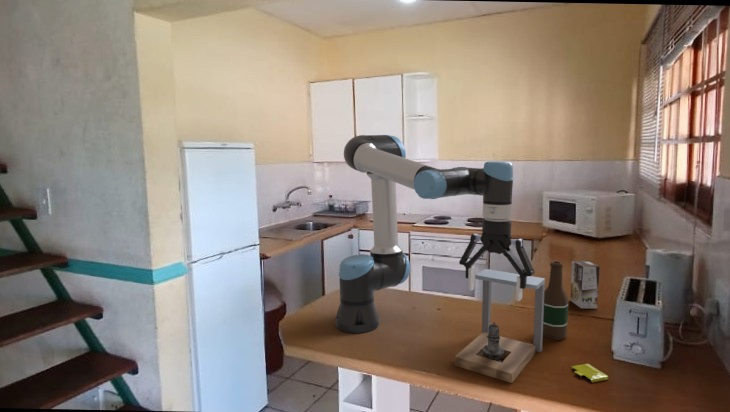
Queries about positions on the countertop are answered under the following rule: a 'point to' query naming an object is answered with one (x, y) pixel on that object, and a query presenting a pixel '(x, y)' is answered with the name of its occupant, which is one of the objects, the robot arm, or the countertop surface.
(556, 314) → the beer bottle
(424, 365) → the countertop surface
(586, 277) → the coffee box
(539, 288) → the grey arch frame
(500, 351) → the grey chess piece
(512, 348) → the socket
